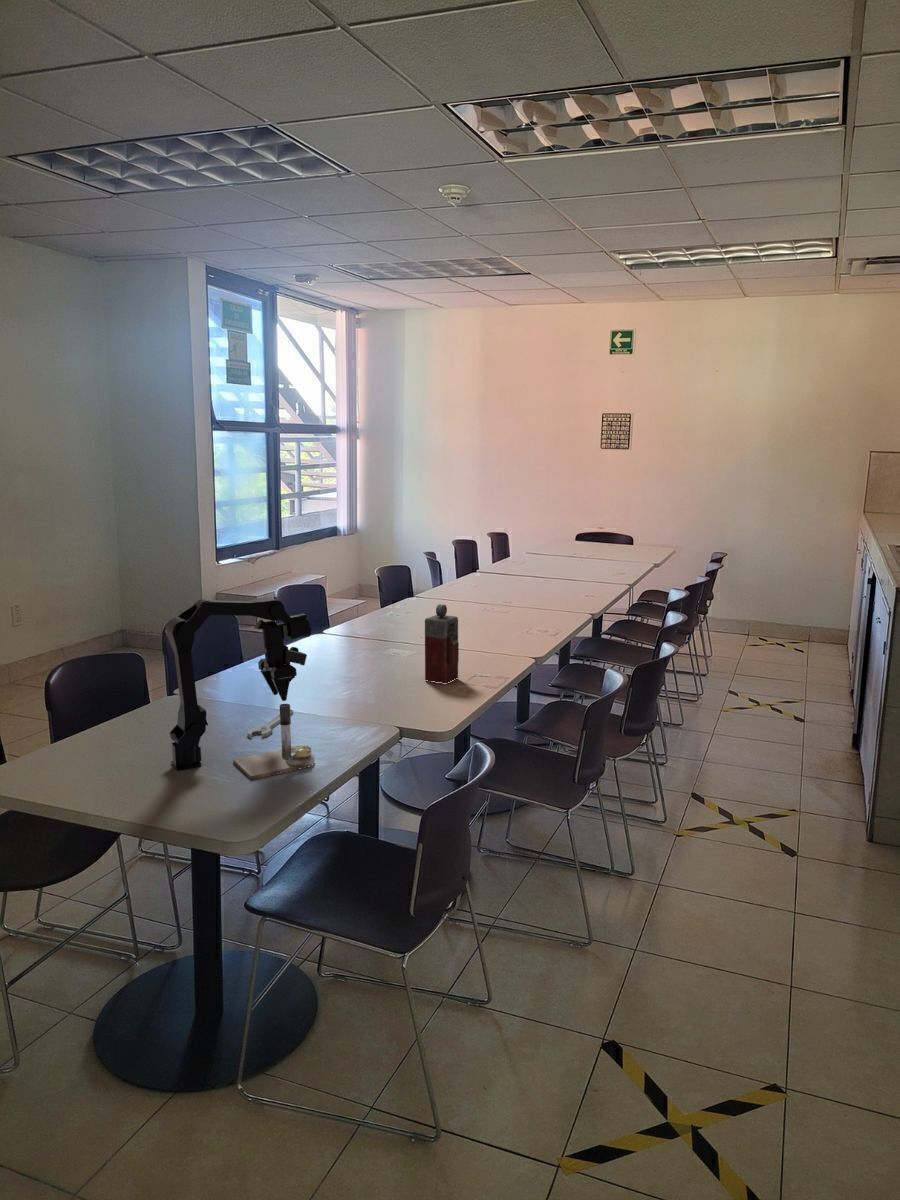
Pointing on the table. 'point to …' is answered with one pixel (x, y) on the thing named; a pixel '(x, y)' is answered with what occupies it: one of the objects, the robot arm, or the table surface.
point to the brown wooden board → (270, 764)
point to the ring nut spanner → (287, 750)
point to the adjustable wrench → (266, 727)
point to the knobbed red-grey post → (441, 646)
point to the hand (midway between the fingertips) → (279, 697)
